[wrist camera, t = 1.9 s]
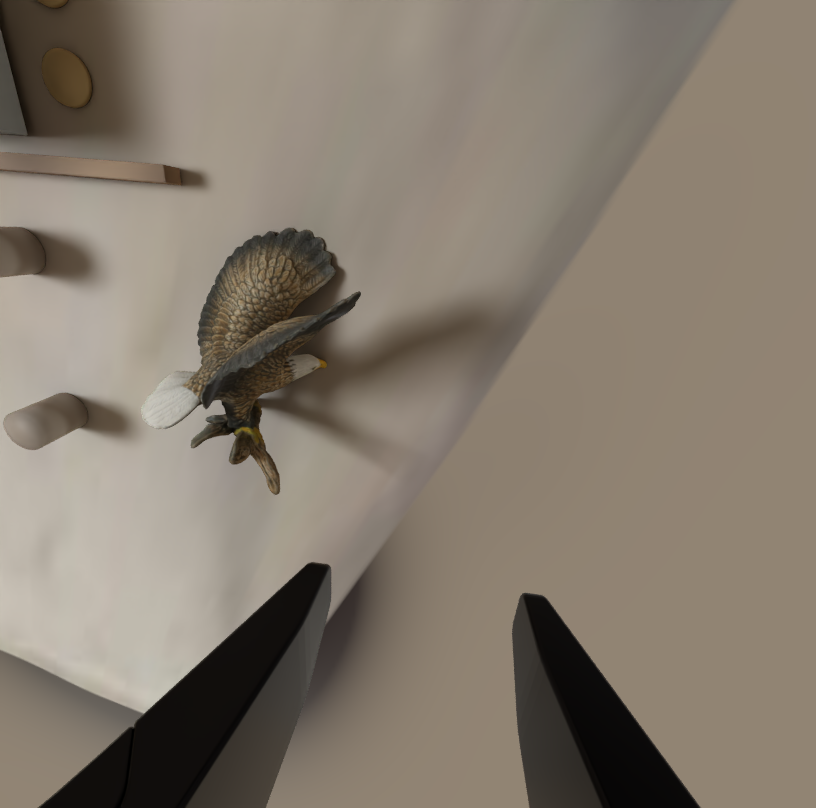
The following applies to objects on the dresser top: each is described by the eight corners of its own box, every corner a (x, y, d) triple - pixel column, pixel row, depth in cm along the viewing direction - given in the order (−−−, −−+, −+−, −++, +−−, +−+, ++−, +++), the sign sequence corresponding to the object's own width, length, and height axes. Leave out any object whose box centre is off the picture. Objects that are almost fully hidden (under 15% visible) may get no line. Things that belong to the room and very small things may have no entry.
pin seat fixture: (150, -57, 14) (88, -114, 11) (215, 444, 21) (186, 470, 19) (-119, -68, 14) (-227, -124, 12) (40, 422, 22) (-8, 444, 20)
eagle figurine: (350, 463, 20) (417, 298, 15) (200, 531, 15) (224, 313, 9) (266, 371, 23) (298, 207, 18) (118, 400, 18) (103, 182, 12)
